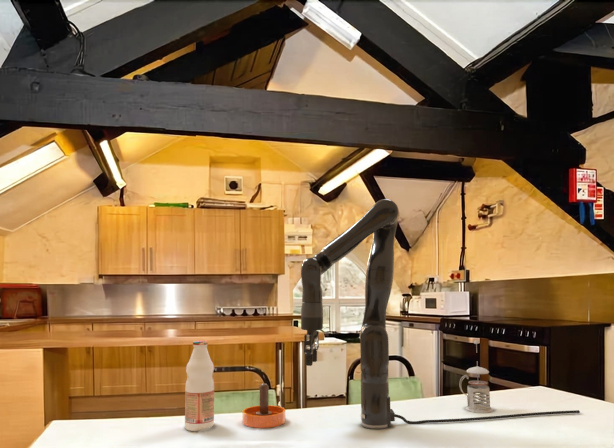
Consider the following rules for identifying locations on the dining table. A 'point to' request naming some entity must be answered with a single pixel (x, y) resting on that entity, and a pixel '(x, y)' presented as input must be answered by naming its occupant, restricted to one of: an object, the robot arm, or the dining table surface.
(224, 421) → the dining table surface
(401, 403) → the dining table surface
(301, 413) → the dining table surface
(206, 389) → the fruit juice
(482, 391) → the french press
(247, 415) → the bowl
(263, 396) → the pestle
